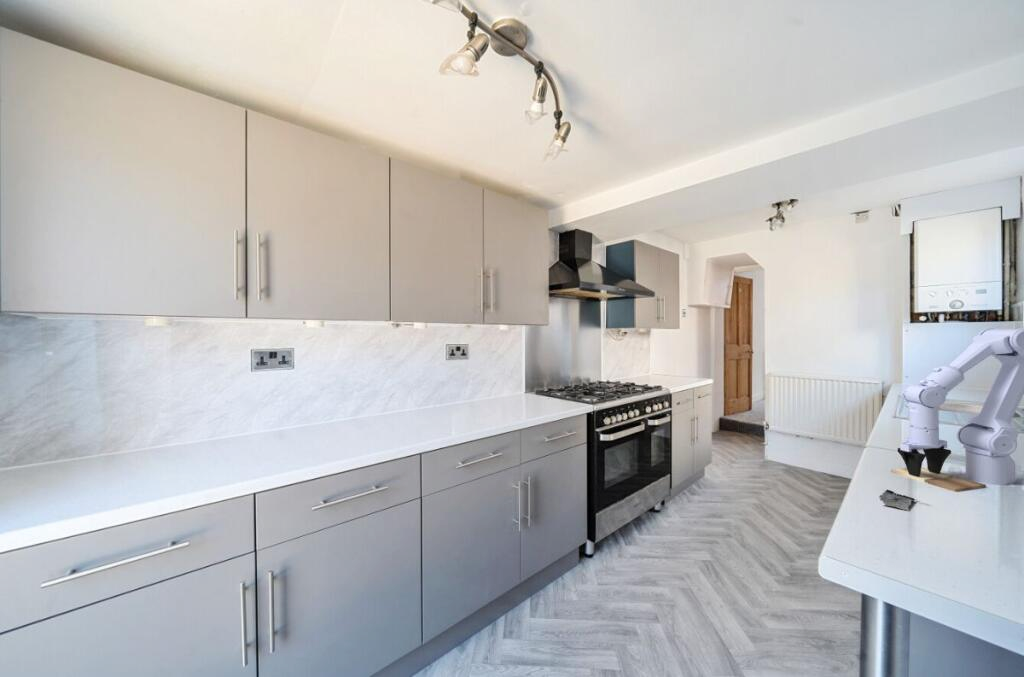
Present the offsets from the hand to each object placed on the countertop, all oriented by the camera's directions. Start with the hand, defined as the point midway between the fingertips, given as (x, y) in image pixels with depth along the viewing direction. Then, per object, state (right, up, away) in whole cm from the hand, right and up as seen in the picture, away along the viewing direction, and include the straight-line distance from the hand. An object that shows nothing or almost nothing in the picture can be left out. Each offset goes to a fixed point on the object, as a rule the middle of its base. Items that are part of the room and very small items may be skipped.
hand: (924, 473), depth 107 cm
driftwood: (-16, -4, -9) cm, 19 cm away
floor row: (+1, -2, -1) cm, 3 cm away
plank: (+1, -2, +2) cm, 2 cm away
